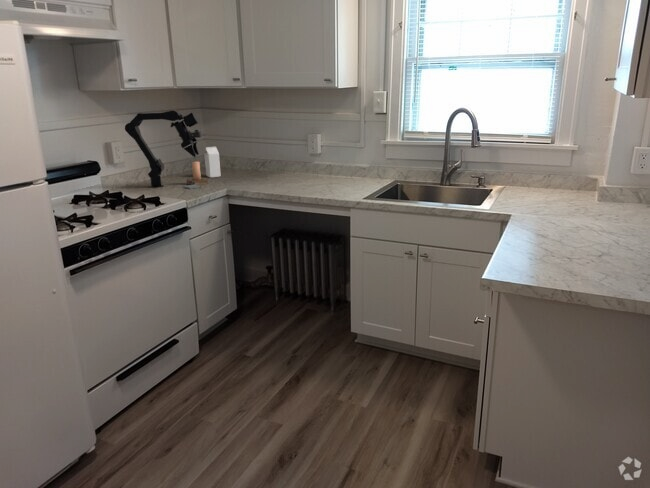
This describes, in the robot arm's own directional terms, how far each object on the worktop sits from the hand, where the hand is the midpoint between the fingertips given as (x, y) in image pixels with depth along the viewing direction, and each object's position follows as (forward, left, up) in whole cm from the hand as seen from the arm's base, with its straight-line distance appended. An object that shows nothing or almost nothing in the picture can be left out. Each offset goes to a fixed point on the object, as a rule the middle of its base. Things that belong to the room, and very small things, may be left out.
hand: (196, 155), depth 290 cm
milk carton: (-20, +23, -18) cm, 36 cm away
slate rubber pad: (+3, -6, -17) cm, 19 cm away
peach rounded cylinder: (-5, +2, -17) cm, 18 cm away
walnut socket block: (-5, +2, -17) cm, 18 cm away
